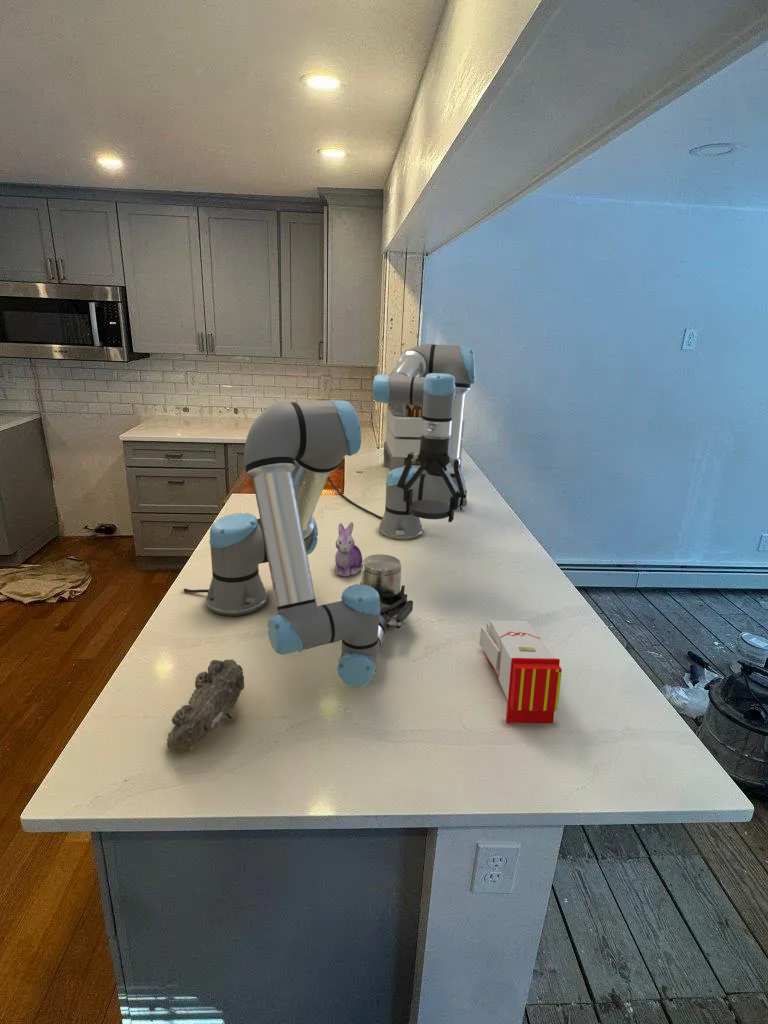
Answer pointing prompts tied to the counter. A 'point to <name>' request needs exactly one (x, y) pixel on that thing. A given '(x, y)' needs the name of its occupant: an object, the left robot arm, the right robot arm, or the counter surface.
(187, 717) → the fossil
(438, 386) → the right robot arm
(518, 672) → the toy
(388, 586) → the jar
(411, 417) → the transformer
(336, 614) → the left robot arm
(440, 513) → the lid
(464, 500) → the figurine character
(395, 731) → the counter surface
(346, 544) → the figurine
